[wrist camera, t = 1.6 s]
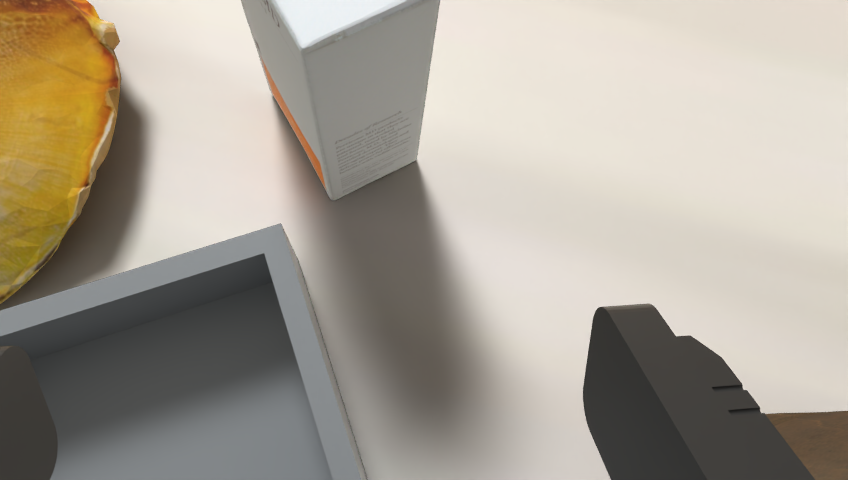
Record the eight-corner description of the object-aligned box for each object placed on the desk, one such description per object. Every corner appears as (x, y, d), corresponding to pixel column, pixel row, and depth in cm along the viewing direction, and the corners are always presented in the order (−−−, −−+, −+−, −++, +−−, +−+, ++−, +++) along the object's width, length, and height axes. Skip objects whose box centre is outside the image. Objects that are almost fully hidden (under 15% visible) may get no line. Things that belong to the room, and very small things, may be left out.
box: (298, 259, 27) (280, 223, 22) (394, 565, 24) (399, 599, 19) (-40, 367, 25) (-138, 353, 20) (23, 714, 22) (-74, 793, 17)
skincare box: (266, 90, 29) (193, -132, 17) (354, 50, 30) (339, -187, 18) (331, 209, 28) (298, 53, 16) (421, 164, 29) (450, -15, 17)
